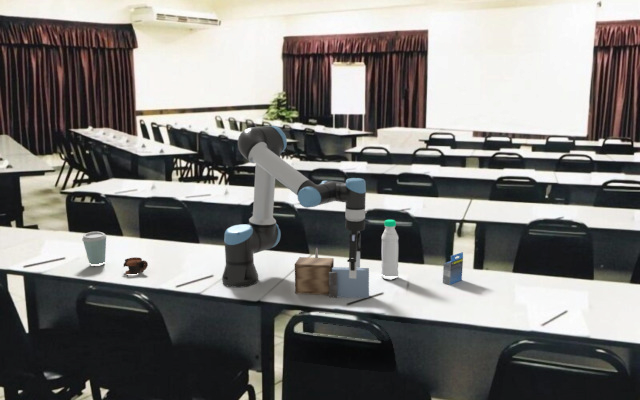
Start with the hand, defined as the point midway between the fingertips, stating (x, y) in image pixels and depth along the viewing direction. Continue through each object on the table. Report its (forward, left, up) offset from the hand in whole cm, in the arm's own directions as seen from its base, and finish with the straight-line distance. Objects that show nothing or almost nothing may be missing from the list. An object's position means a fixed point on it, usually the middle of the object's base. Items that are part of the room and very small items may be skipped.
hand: (354, 272), depth 237 cm
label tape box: (+38, +22, -10) cm, 45 cm away
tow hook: (-19, +25, -10) cm, 33 cm away
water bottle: (+12, +24, -10) cm, 28 cm away
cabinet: (-15, +3, -9) cm, 18 cm away
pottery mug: (-99, +18, -10) cm, 102 cm away
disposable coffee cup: (-124, +28, -10) cm, 127 cm away
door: (-2, 0, -9) cm, 10 cm away
